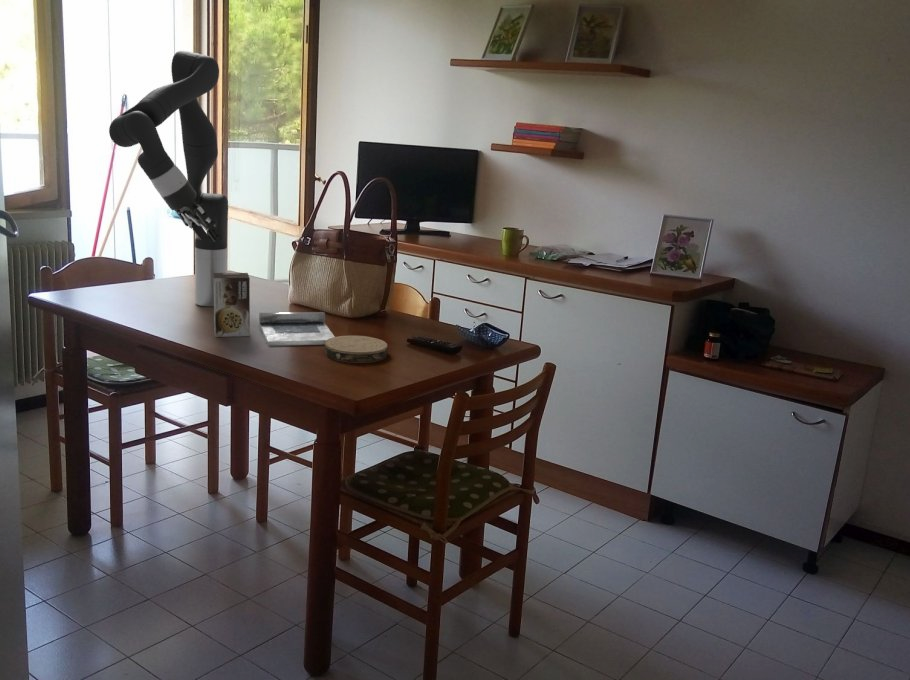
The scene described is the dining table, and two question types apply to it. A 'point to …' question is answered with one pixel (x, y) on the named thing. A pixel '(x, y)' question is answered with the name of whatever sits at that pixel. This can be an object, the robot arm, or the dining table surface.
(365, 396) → the dining table surface
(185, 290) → the dining table surface
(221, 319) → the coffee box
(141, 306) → the dining table surface
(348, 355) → the beige tambourine
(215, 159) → the robot arm
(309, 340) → the hinge plate
